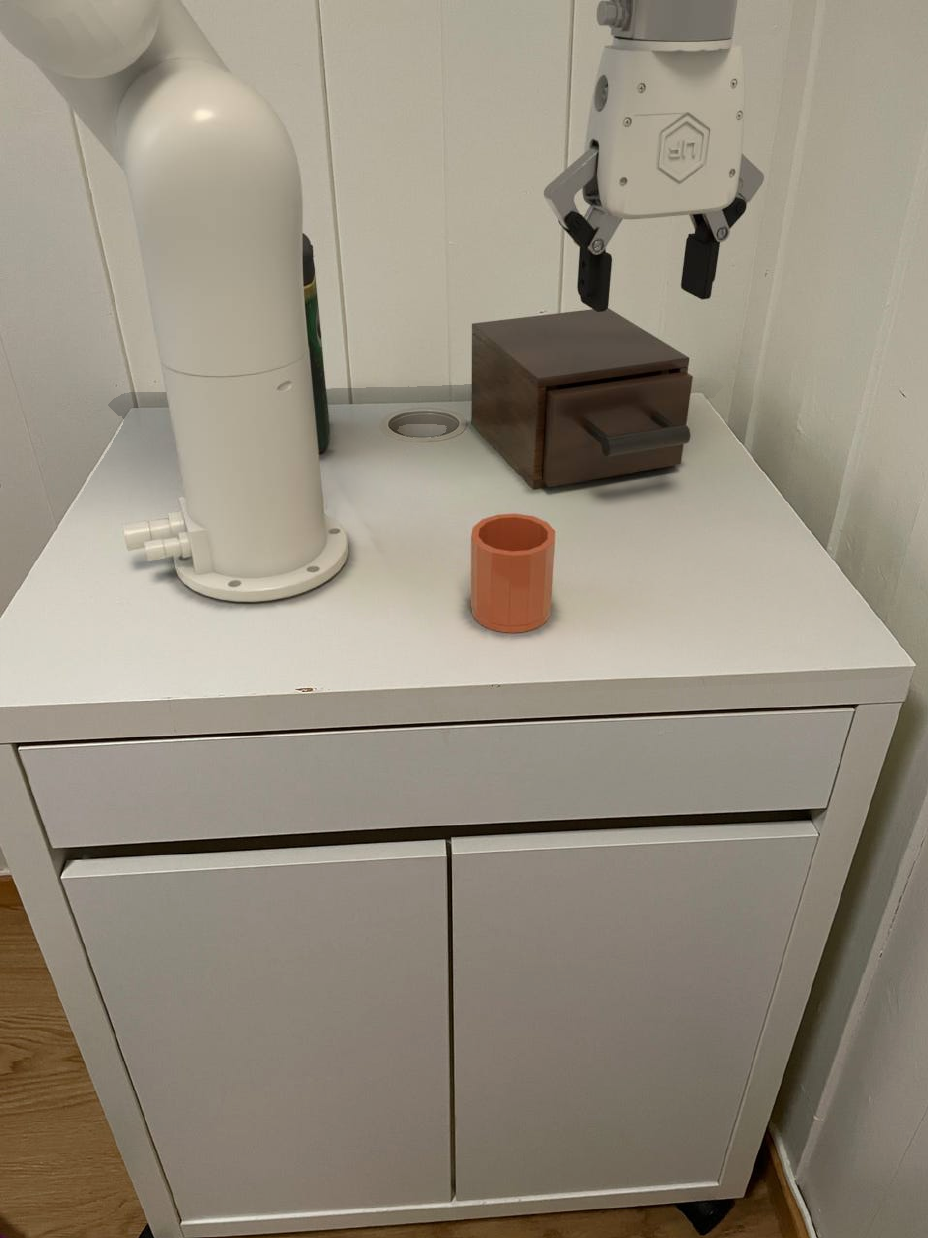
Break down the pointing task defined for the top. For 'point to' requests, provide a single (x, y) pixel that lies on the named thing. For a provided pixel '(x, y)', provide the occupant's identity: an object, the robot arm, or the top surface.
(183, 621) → the top surface
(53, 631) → the top surface
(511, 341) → the cabinet
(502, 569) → the cup
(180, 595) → the top surface
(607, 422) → the drawer
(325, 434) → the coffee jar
